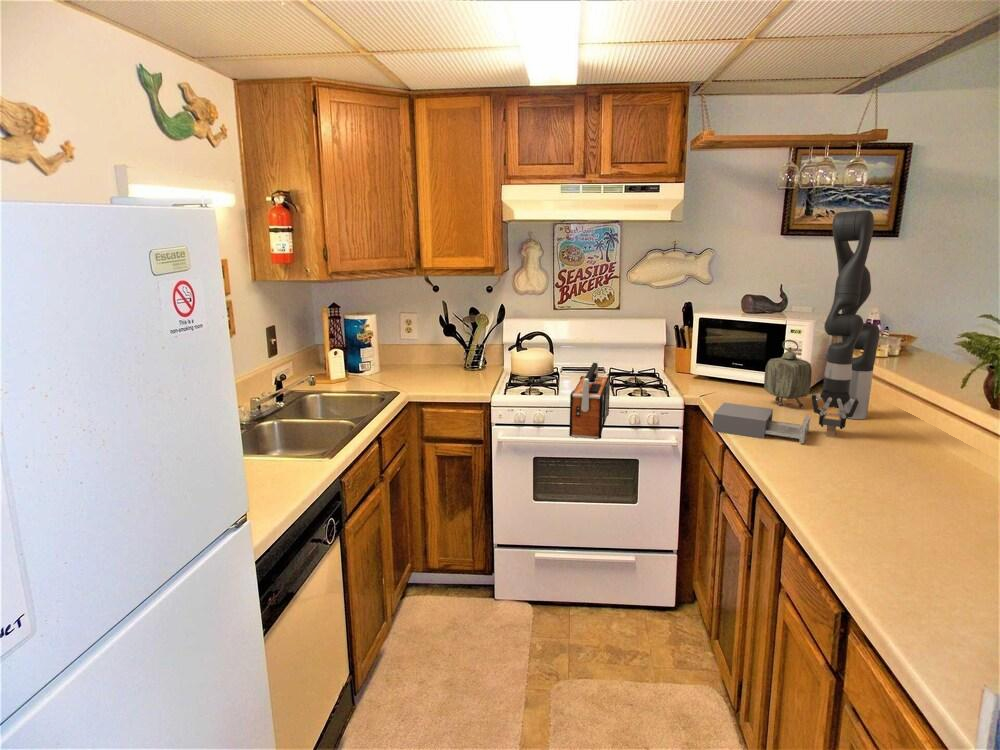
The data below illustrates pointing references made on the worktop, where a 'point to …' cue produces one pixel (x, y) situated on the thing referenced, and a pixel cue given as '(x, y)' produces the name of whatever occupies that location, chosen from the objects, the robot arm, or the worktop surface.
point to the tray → (789, 429)
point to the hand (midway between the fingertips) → (831, 427)
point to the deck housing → (741, 420)
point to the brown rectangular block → (831, 431)
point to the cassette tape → (832, 419)
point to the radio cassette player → (589, 405)
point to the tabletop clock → (788, 376)
